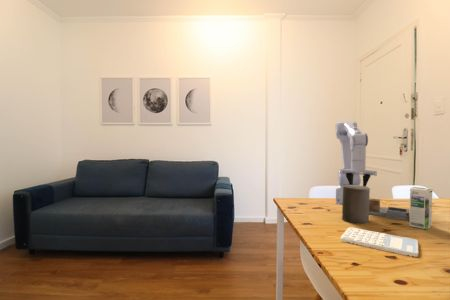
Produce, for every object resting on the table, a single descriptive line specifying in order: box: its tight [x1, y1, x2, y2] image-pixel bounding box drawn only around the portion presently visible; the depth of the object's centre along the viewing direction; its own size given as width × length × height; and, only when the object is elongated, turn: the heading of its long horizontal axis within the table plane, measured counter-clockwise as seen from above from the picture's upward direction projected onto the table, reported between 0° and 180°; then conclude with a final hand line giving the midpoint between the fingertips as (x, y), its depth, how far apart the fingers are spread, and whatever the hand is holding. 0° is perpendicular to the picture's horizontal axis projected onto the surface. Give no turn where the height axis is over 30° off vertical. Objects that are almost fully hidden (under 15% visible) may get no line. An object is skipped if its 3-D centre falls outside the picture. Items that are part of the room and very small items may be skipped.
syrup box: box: [409, 186, 433, 231], centre depth 96 cm, size 6×6×14 cm
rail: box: [369, 206, 410, 222], centre depth 110 cm, size 18×8×4 cm, turn 54°
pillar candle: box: [341, 183, 371, 225], centre depth 103 cm, size 10×10×15 cm
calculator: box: [340, 226, 419, 258], centre depth 81 cm, size 13×20×2 cm, turn 53°
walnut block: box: [369, 197, 381, 212], centre depth 112 cm, size 4×4×4 cm
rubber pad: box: [380, 206, 388, 210], centre depth 120 cm, size 7×7×1 cm
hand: (357, 190), depth 115 cm, fingers open, 4 cm apart
